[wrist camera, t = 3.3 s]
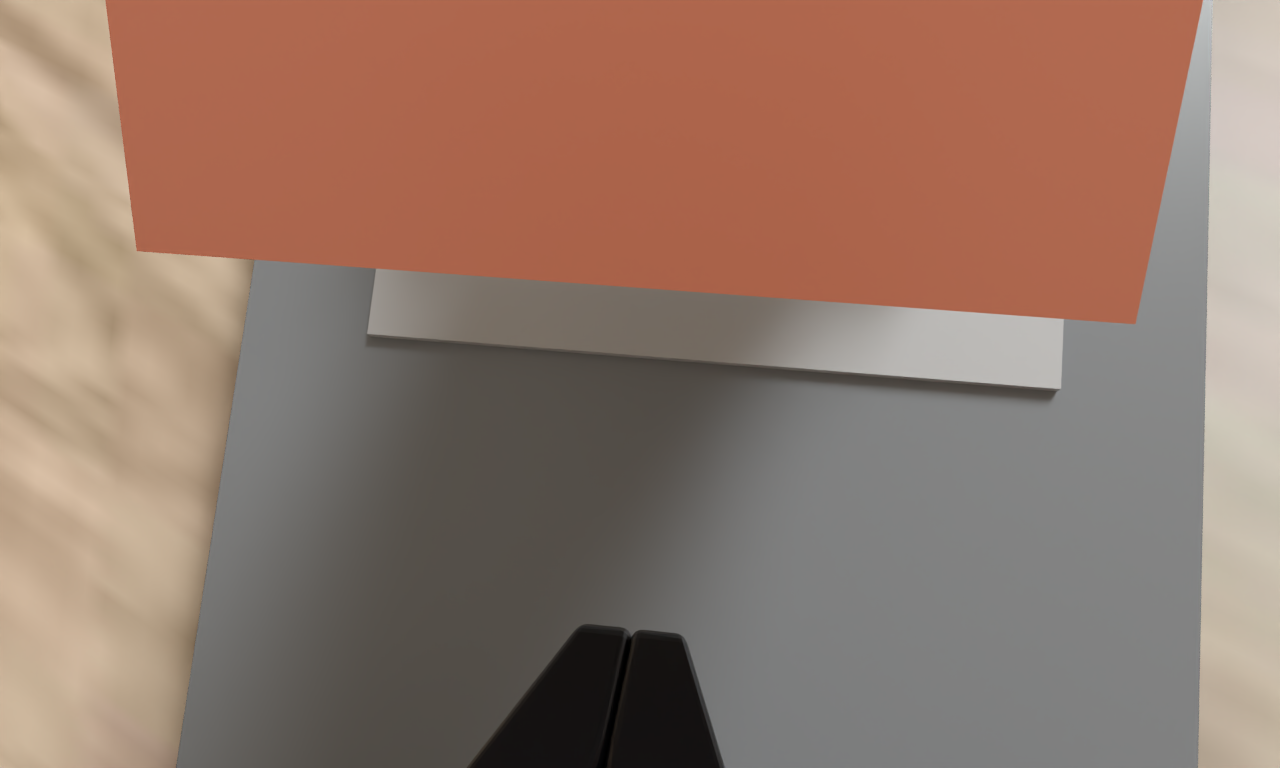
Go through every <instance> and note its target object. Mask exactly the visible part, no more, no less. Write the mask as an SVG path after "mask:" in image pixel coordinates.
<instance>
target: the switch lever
mask: <svg viewBox="0 0 1280 768" xmlns="http://www.w3.org/2000/svg"><path fill="white" fill-rule="evenodd" d="M1202 4H1203V0H106V7H107V16H108V24H109V32H110V40H111V48H112V56H113V64H114V72H115V80H116V88H117V96H118V104H119V112H120V120H121V128H122V136H123V144H124V152H125V160H126V168H127V176H128V184H129V192H130V200H131V208H132V216H133V224H134V232H135V240H136V248H137V251H144V252H157V253H171V254H185V255H198V256H212V257H226V258H239V259H253V260H266V261H280V262H294V263H307V264H321V265H335V266H348V267H362V268H375V269H389V270H403V271H416V272H430V273H443V274H457V275H471V276H484V277H498V278H512V279H525V280H539V281H552V282H566V283H580V284H593V285H607V286H621V287H634V288H648V289H661V290H675V291H689V292H702V293H716V294H730V295H743V296H757V297H770V298H784V299H798V300H811V301H825V302H839V303H852V304H866V305H879V306H893V307H907V308H920V309H934V310H947V311H961V312H975V313H988V314H1002V315H1016V316H1029V317H1043V318H1056V319H1070V320H1084V321H1097V322H1111V323H1125V324H1136V319H1137V315H1138V310H1139V305H1140V300H1141V295H1142V291H1143V286H1144V281H1145V276H1146V272H1147V267H1148V262H1149V257H1150V252H1151V248H1152V243H1153V238H1154V233H1155V228H1156V224H1157V219H1158V214H1159V209H1160V205H1161V200H1162V195H1163V190H1164V185H1165V181H1166V176H1167V171H1168V166H1169V161H1170V157H1171V152H1172V147H1173V142H1174V138H1175V133H1176V128H1177V123H1178V118H1179V114H1180V109H1181V104H1182V99H1183V94H1184V90H1185V85H1186V80H1187V75H1188V71H1189V66H1190V61H1191V56H1192V51H1193V47H1194V42H1195V37H1196V32H1197V28H1198V23H1199V18H1200V13H1201V8H1202Z"/></svg>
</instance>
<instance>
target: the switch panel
mask: <svg viewBox="0 0 1280 768" xmlns="http://www.w3.org/2000/svg"><path fill="white" fill-rule="evenodd" d="M1212 8H1213V0H1203V4H1202V8H1201V13H1200V18H1199V23H1198V28H1197V32H1196V37H1195V42H1194V47H1193V51H1192V56H1191V61H1190V66H1189V71H1188V75H1187V80H1186V85H1185V90H1184V94H1183V99H1182V104H1181V109H1180V114H1179V118H1178V123H1177V128H1176V133H1175V138H1174V142H1173V147H1172V152H1171V157H1170V161H1169V166H1168V171H1167V176H1166V181H1165V185H1164V190H1163V195H1162V200H1161V205H1160V209H1159V214H1158V219H1157V224H1156V228H1155V233H1154V238H1153V243H1152V248H1151V252H1150V257H1149V262H1148V267H1147V272H1146V276H1145V281H1144V286H1143V291H1142V295H1141V300H1140V305H1139V310H1138V315H1137V319H1136V324H1125V323H1111V322H1097V321H1084V320H1070V319H1056V318H1043V317H1029V316H1016V315H1002V314H988V313H975V312H961V311H947V310H934V309H920V308H907V307H893V306H879V305H866V304H852V303H839V302H825V301H811V300H798V299H784V298H770V297H757V296H743V295H730V294H716V293H702V292H689V291H675V290H661V289H648V288H634V287H621V286H607V285H593V284H580V283H566V282H552V281H539V280H525V279H512V278H498V277H484V276H471V275H457V274H443V273H430V272H416V271H403V270H389V269H375V268H362V267H348V266H335V265H321V264H307V263H294V262H280V261H266V260H255V261H254V267H253V274H252V280H251V287H250V293H249V299H248V306H247V312H246V319H245V325H244V332H243V338H242V345H241V351H240V358H239V364H238V371H237V377H236V383H235V390H234V396H233V403H232V409H231V416H230V422H229V429H228V435H227V442H226V448H225V454H224V461H223V467H222V474H221V480H220V487H219V493H218V500H217V506H216V513H215V519H214V526H213V532H212V538H211V545H210V551H209V558H208V564H207V571H206V577H205V584H204V590H203V597H202V603H201V609H200V616H199V622H198V629H197V635H196V642H195V648H194V655H193V661H192V668H191V674H190V681H189V687H188V693H187V700H186V706H185V713H184V719H183V726H182V732H181V739H180V745H179V752H178V758H177V764H176V768H466V767H467V766H468V765H469V763H470V762H471V761H472V759H473V758H474V757H475V756H476V754H477V753H478V752H479V751H480V749H481V748H482V747H483V746H484V744H485V743H486V742H487V740H488V739H489V738H490V737H491V735H492V734H493V733H494V732H495V730H496V729H497V728H498V726H499V725H500V724H501V723H502V721H503V720H504V719H505V718H506V716H507V715H508V714H509V713H510V711H511V710H512V709H513V707H514V706H515V705H516V704H517V702H518V701H519V700H520V699H521V697H522V696H523V695H524V694H525V692H526V691H527V690H528V688H529V687H530V686H531V685H532V683H533V682H534V681H535V680H536V678H537V677H538V676H539V675H540V673H541V672H542V671H543V669H544V668H545V667H546V666H547V664H548V663H549V662H550V661H551V659H552V658H553V657H554V655H555V654H556V653H557V652H558V650H559V649H560V648H561V647H562V645H563V644H564V643H565V642H566V640H567V639H568V638H569V636H570V635H571V634H572V633H573V632H574V631H575V630H576V629H577V628H578V627H579V626H581V625H583V624H595V625H604V626H614V627H623V628H625V629H627V630H628V631H629V632H630V634H631V637H632V635H633V634H634V633H635V632H636V631H638V630H652V631H661V632H671V633H678V634H680V635H682V636H683V637H684V638H685V640H686V642H687V644H688V647H689V650H690V654H691V657H692V660H693V664H694V667H695V670H696V673H697V677H698V680H699V683H700V687H701V690H702V693H703V697H704V700H705V703H706V707H707V710H708V713H709V716H710V720H711V723H712V726H713V730H714V733H715V736H716V740H717V743H718V746H719V749H720V753H721V756H722V759H723V763H724V766H725V768H1198V732H1199V680H1200V628H1201V577H1202V525H1203V473H1204V421H1205V370H1206V318H1207V266H1208V215H1209V163H1210V111H1211V59H1212Z"/></svg>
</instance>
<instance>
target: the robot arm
mask: <svg viewBox="0 0 1280 768" xmlns="http://www.w3.org/2000/svg"><path fill="white" fill-rule="evenodd" d="M466 768H725V766H724V763H723V759H722V756H721V753H720V749H719V746H718V743H717V740H716V736H715V733H714V730H713V726H712V723H711V720H710V716H709V713H708V710H707V707H706V703H705V700H704V697H703V693H702V690H701V687H700V683H699V680H698V677H697V673H696V670H695V667H694V664H693V660H692V657H691V654H690V650H689V647H688V644H687V642H686V640H685V638H684V637H683V636H682V635H680V634H678V633H671V632H661V631H652V630H638V631H636V632H635V633H634V634H633V635H632V637H631V634H630V632H629V631H628V630H627V629H625V628H623V627H614V626H604V625H595V624H583V625H581V626H579V627H578V628H577V629H576V630H575V631H574V632H573V633H572V634H571V635H570V636H569V638H568V639H567V640H566V642H565V643H564V644H563V645H562V647H561V648H560V649H559V650H558V652H557V653H556V654H555V655H554V657H553V658H552V659H551V661H550V662H549V663H548V664H547V666H546V667H545V668H544V669H543V671H542V672H541V673H540V675H539V676H538V677H537V678H536V680H535V681H534V682H533V683H532V685H531V686H530V687H529V688H528V690H527V691H526V692H525V694H524V695H523V696H522V697H521V699H520V700H519V701H518V702H517V704H516V705H515V706H514V707H513V709H512V710H511V711H510V713H509V714H508V715H507V716H506V718H505V719H504V720H503V721H502V723H501V724H500V725H499V726H498V728H497V729H496V730H495V732H494V733H493V734H492V735H491V737H490V738H489V739H488V740H487V742H486V743H485V744H484V746H483V747H482V748H481V749H480V751H479V752H478V753H477V754H476V756H475V757H474V758H473V759H472V761H471V762H470V763H469V765H468V766H467V767H466Z"/></svg>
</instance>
